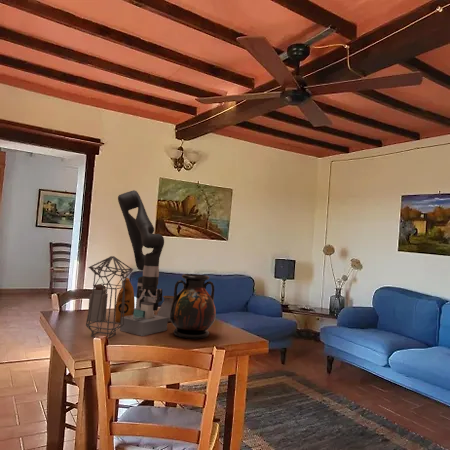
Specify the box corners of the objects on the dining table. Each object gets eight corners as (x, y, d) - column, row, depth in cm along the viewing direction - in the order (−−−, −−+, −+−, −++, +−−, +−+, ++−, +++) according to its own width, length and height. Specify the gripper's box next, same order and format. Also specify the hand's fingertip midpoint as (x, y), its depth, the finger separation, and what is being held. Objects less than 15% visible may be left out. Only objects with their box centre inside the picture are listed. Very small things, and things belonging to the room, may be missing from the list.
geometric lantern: (96, 330, 185) (104, 254, 187) (128, 334, 182) (136, 257, 184) (77, 337, 170) (87, 254, 171) (112, 342, 167) (121, 258, 168)
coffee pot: (157, 322, 210) (159, 293, 210) (155, 318, 221) (157, 290, 221) (197, 323, 215) (199, 295, 215) (193, 318, 226) (195, 292, 226)
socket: (145, 325, 202) (146, 313, 202) (166, 330, 194) (167, 317, 194) (119, 330, 187) (120, 317, 187) (142, 336, 180) (143, 322, 180)
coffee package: (111, 323, 200) (115, 279, 201) (116, 318, 212) (119, 276, 213) (132, 324, 201) (135, 280, 202) (135, 319, 213) (138, 277, 214)
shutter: (134, 316, 190) (135, 308, 190) (145, 319, 186) (146, 311, 186) (124, 318, 184) (125, 310, 185) (135, 321, 181) (136, 312, 181)
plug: (145, 324, 195) (147, 301, 195) (153, 325, 193) (154, 302, 193) (139, 325, 191) (141, 302, 192) (146, 327, 189) (148, 303, 189)
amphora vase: (171, 341, 174) (176, 276, 175) (165, 329, 195) (169, 271, 196) (219, 341, 180) (224, 278, 181) (208, 330, 201) (212, 273, 202)
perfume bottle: (105, 319, 207) (108, 284, 208) (100, 322, 201) (103, 286, 201) (93, 318, 208) (95, 283, 209) (87, 321, 201) (90, 285, 202)
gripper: (134, 274, 193) (131, 307, 193) (156, 277, 186) (154, 312, 185) (145, 273, 200) (142, 306, 199) (167, 276, 192) (164, 310, 192)
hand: (148, 309), depth 192 cm, fingers open, 8 cm apart
